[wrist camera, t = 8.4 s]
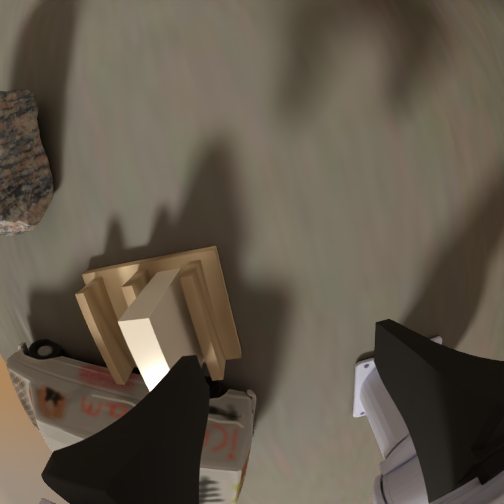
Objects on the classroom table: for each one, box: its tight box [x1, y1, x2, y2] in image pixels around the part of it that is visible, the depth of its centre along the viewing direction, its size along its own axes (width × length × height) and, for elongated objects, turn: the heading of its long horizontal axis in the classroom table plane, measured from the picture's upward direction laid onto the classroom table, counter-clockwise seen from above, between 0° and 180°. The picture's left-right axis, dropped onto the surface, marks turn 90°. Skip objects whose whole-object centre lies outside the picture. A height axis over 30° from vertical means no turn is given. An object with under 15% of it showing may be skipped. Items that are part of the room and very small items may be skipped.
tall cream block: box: [118, 268, 204, 391], centre depth 17 cm, size 2×7×7 cm, turn 11°
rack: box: [75, 246, 241, 385], centre depth 20 cm, size 11×9×4 cm
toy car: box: [6, 339, 256, 504], centre depth 20 cm, size 11×25×10 cm, turn 84°
